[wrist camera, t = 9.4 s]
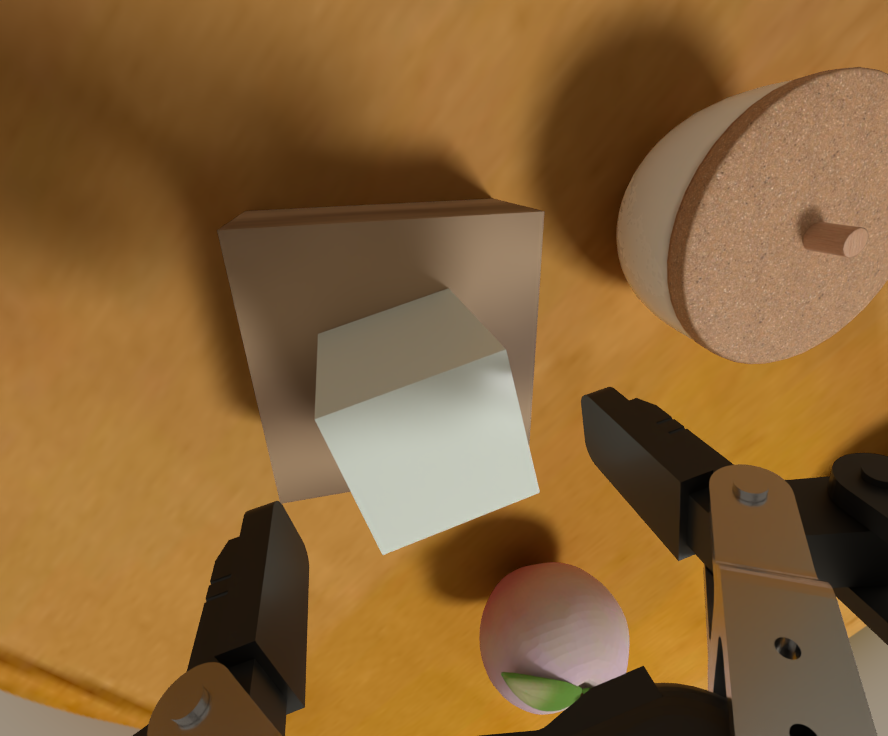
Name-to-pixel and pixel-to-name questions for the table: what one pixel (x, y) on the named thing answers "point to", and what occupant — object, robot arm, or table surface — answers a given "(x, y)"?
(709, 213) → the lidded jar
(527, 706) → the decorative fruit
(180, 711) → the robot arm
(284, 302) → the walnut block
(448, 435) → the off-white cube
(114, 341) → the table surface
